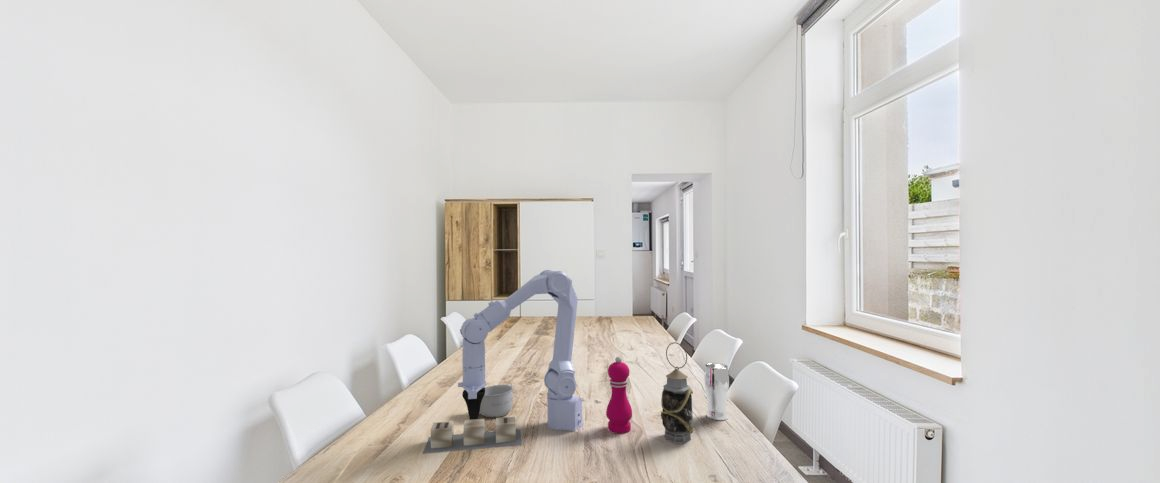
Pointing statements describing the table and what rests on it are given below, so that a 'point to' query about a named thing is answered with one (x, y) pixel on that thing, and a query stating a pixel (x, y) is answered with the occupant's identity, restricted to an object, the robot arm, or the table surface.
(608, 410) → the pepper mill
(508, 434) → the marked block one
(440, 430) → the marked block two
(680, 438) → the lantern
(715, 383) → the silver tall cylinder
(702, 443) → the table surface
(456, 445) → the mat
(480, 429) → the plain block
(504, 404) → the teacup
